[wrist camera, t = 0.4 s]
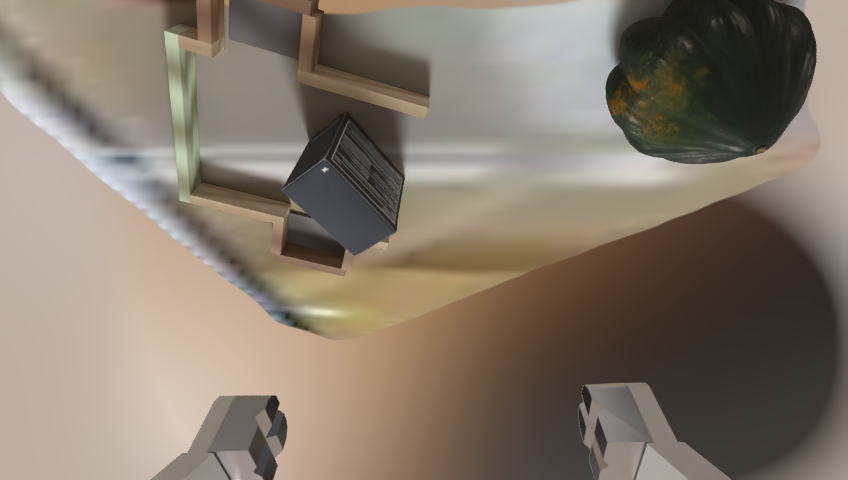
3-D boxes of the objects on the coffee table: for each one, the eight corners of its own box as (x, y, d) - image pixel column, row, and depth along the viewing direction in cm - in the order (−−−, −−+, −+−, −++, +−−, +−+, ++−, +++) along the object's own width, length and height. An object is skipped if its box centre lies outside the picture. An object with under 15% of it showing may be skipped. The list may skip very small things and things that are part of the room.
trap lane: (174, -51, 38) (156, -48, 36) (447, 35, 41) (447, 44, 39) (194, 225, 57) (183, 239, 55) (379, 268, 61) (376, 283, 58)
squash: (664, -67, 31) (674, 127, 29) (860, -50, 32) (886, 141, 29) (583, 50, 45) (585, 187, 43) (720, 60, 46) (731, 196, 43)
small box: (304, 142, 49) (276, 191, 41) (346, 109, 46) (324, 154, 38) (366, 204, 54) (352, 259, 46) (407, 178, 52) (399, 231, 43)
